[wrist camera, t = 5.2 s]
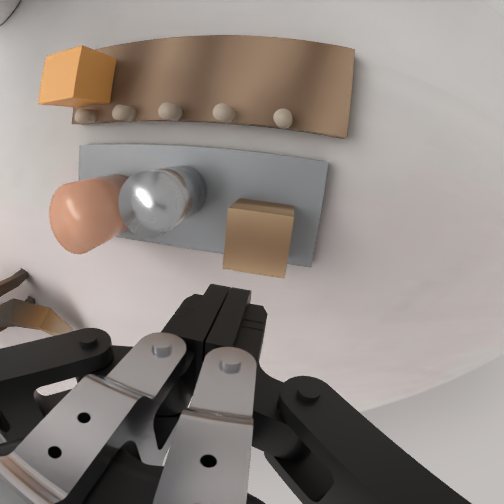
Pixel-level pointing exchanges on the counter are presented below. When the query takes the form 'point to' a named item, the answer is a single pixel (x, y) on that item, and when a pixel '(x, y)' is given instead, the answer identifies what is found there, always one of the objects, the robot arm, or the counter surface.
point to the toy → (28, 310)
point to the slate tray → (222, 189)
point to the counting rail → (230, 83)
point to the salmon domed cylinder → (87, 213)
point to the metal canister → (161, 199)
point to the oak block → (258, 237)
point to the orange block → (77, 78)
